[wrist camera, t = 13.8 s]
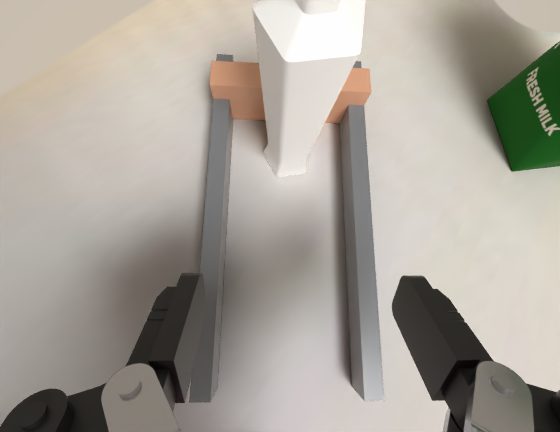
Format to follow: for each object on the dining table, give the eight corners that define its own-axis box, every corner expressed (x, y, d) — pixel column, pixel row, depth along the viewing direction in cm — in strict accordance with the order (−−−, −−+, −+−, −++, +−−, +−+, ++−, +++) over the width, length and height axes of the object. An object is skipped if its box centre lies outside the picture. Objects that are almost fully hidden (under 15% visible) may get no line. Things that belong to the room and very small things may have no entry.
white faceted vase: (263, 126, 23) (261, -134, 9) (315, 134, 24) (397, -110, 9) (254, 177, 22) (235, -26, 8) (309, 185, 22) (391, 1, 8)
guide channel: (199, 387, 19) (181, 413, 15) (221, 77, 24) (213, 37, 20) (369, 386, 19) (395, 411, 15) (351, 83, 25) (367, 46, 21)
